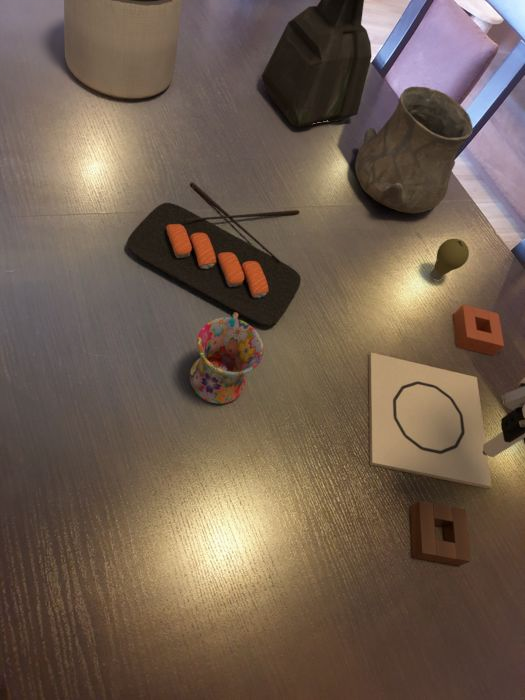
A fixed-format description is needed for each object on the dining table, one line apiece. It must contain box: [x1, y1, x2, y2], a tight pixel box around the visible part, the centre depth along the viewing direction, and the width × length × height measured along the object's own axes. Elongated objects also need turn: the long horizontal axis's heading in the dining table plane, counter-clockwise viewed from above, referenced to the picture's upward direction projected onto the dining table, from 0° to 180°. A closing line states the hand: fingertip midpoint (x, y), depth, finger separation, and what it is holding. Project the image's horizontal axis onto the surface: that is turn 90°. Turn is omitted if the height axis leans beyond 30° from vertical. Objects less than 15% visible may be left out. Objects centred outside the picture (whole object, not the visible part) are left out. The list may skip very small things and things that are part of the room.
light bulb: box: [429, 238, 470, 281], centre depth 107 cm, size 6×6×10 cm
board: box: [368, 352, 492, 489], centre depth 92 cm, size 20×20×1 cm
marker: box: [483, 431, 525, 458], centre depth 70 cm, size 2×2×12 cm
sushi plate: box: [126, 181, 301, 327], centre depth 101 cm, size 29×30×4 cm
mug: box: [189, 311, 264, 405], centre depth 83 cm, size 12×9×11 cm
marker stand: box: [409, 500, 472, 566], centre depth 81 cm, size 7×7×3 cm
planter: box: [63, 0, 184, 100], centre depth 112 cm, size 22×22×20 cm
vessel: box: [354, 86, 474, 214], centre depth 114 cm, size 22×22×20 cm
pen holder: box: [452, 304, 505, 357], centre depth 104 cm, size 7×7×4 cm
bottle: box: [261, 0, 373, 128], centre depth 118 cm, size 18×16×30 cm
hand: (515, 432), depth 69 cm, fingers closed on marker, 2 cm apart
